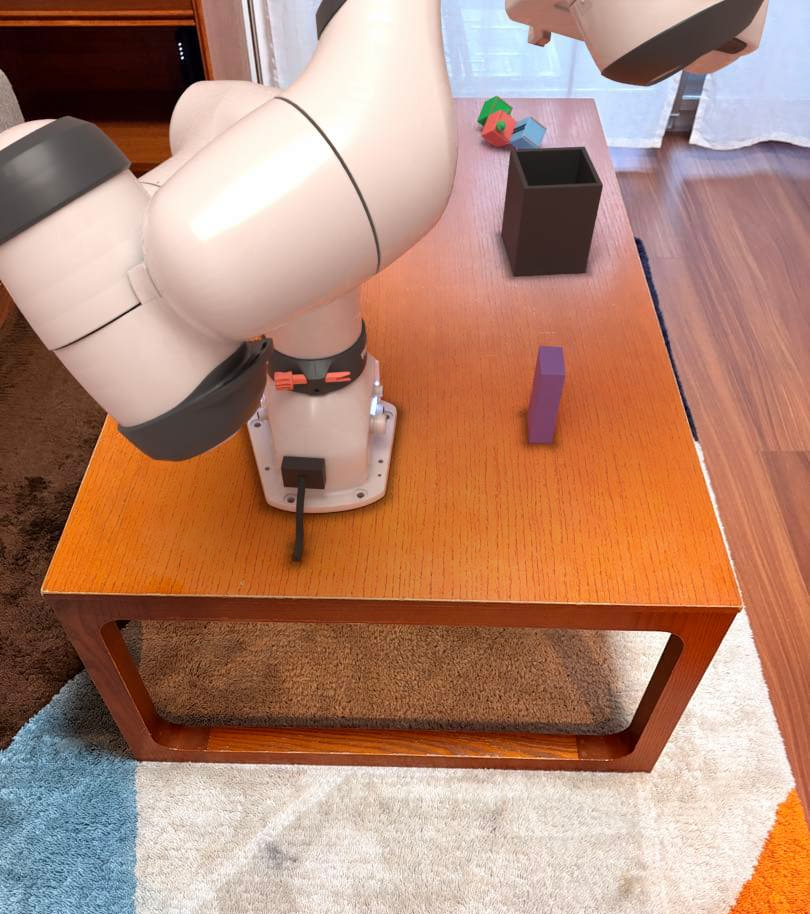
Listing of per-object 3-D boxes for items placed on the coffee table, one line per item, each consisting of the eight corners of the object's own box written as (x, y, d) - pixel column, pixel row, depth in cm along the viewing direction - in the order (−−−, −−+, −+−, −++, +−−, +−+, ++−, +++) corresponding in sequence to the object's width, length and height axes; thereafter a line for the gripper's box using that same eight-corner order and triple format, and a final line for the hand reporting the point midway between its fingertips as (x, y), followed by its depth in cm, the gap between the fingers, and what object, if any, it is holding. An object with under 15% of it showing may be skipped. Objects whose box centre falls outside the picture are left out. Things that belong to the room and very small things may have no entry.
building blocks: (501, 165, 152) (540, 149, 142) (467, 140, 148) (504, 123, 138) (516, 125, 152) (556, 107, 142) (483, 100, 148) (521, 79, 138)
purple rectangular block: (551, 444, 101) (565, 374, 92) (528, 443, 101) (541, 373, 92) (549, 415, 104) (562, 346, 95) (527, 415, 104) (538, 345, 95)
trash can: (585, 272, 123) (603, 185, 112) (513, 276, 123) (524, 188, 112) (569, 232, 130) (584, 146, 119) (501, 235, 129) (510, 149, 119)
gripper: (543, -17, 59) (472, 58, 72) (774, 55, 65) (670, 111, 78) (556, -113, 58) (481, -20, 71) (789, -31, 64) (681, 41, 77)
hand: (582, 49), depth 74 cm, fingers open, 8 cm apart
